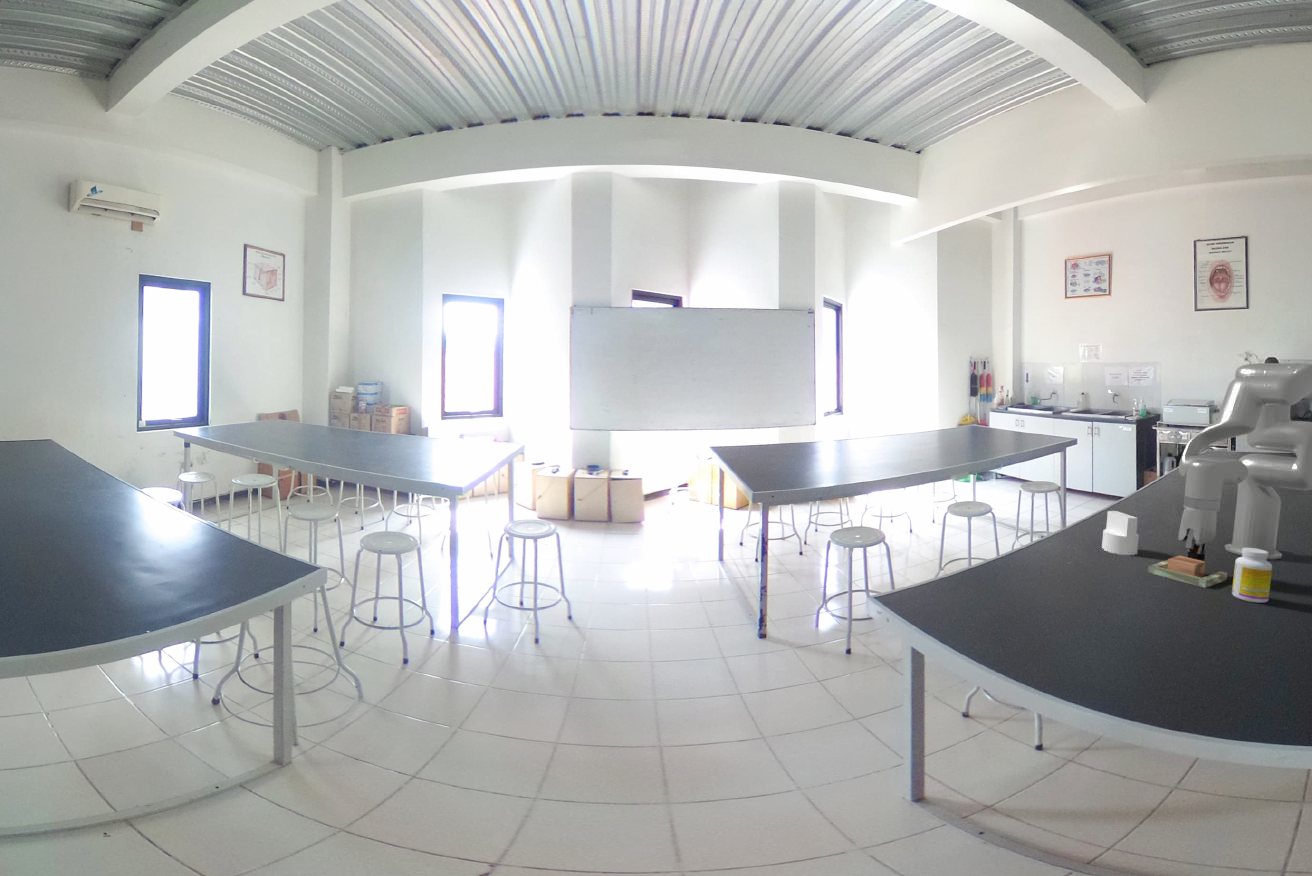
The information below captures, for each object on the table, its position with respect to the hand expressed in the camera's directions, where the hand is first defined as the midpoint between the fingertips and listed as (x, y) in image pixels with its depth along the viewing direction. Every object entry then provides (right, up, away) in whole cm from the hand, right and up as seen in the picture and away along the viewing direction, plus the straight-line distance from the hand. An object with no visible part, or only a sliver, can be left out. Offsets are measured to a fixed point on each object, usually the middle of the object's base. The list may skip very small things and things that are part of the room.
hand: (1195, 565), depth 166 cm
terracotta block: (-5, -3, -2) cm, 6 cm away
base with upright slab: (-5, 0, +21) cm, 22 cm away
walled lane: (-4, -3, -2) cm, 5 cm away
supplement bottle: (-2, -5, -17) cm, 18 cm away
